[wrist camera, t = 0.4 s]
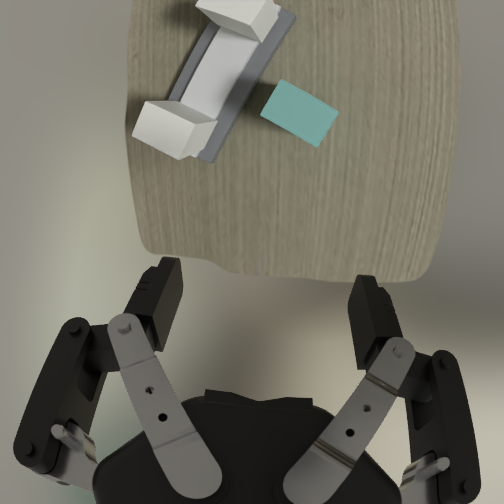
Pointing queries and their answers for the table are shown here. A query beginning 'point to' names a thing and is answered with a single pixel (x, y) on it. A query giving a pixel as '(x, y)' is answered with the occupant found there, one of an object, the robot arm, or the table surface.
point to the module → (299, 113)
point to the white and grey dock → (215, 78)
